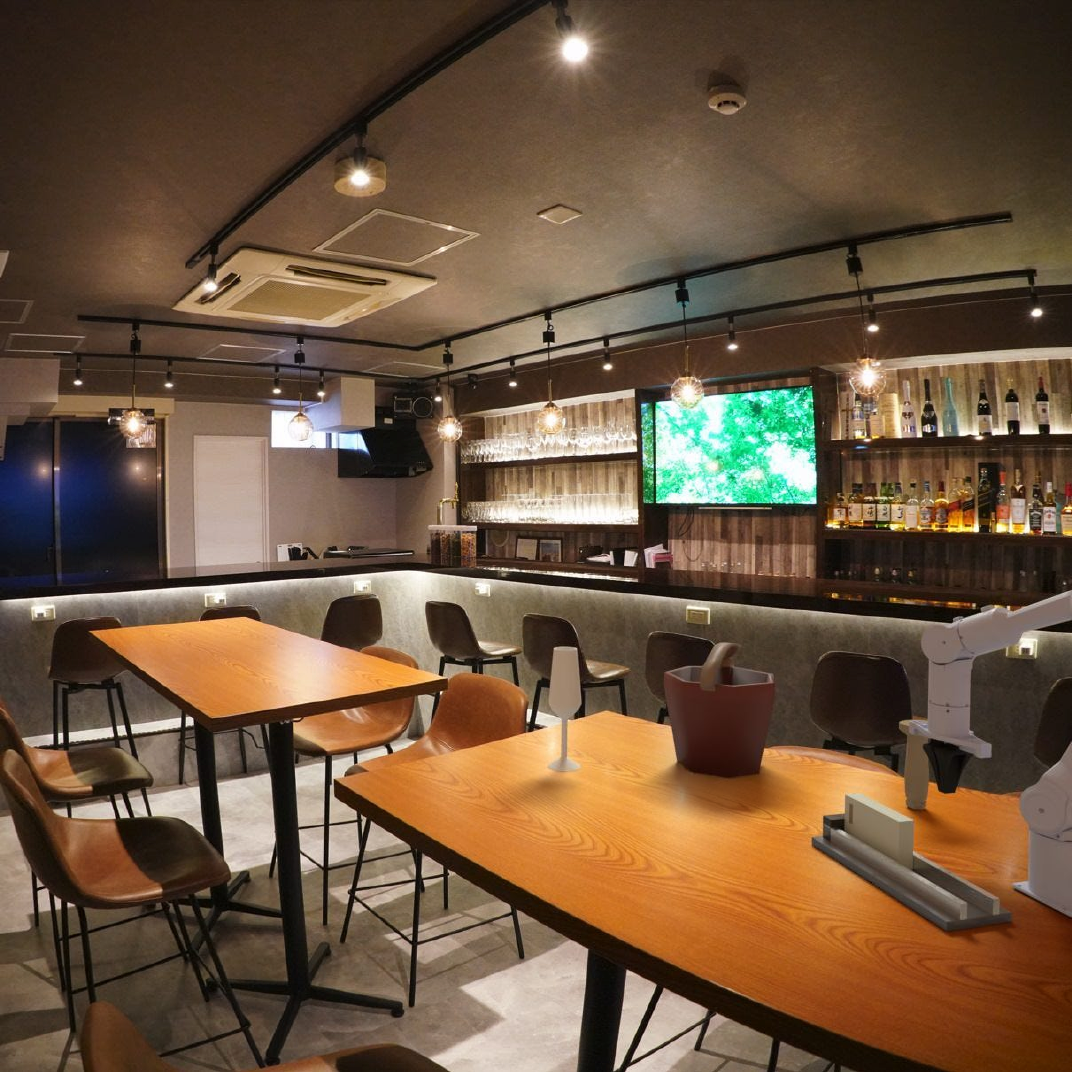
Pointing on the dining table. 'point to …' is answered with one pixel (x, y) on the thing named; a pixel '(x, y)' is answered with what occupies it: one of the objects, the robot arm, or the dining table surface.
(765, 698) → the bucket
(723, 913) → the dining table surface
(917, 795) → the handle
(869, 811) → the door panel
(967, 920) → the rail
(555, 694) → the champagne flute
